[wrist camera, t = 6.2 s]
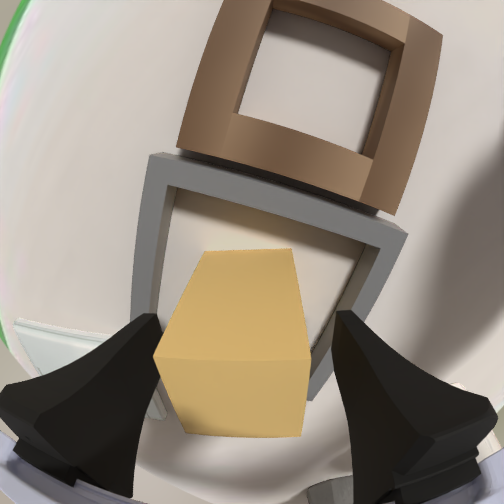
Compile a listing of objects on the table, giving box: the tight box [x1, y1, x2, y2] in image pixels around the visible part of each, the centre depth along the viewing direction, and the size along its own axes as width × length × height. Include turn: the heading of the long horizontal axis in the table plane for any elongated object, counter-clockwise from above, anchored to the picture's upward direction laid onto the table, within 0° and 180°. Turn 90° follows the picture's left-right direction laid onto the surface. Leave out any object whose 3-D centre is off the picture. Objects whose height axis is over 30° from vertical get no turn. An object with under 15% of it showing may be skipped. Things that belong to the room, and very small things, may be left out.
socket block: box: [176, 0, 443, 216], centre depth 9 cm, size 9×9×2 cm
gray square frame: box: [130, 152, 408, 401], centre depth 13 cm, size 11×11×2 cm
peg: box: [153, 248, 311, 438], centre depth 10 cm, size 4×4×7 cm
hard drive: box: [13, 318, 167, 421], centre depth 17 cm, size 2×8×12 cm
